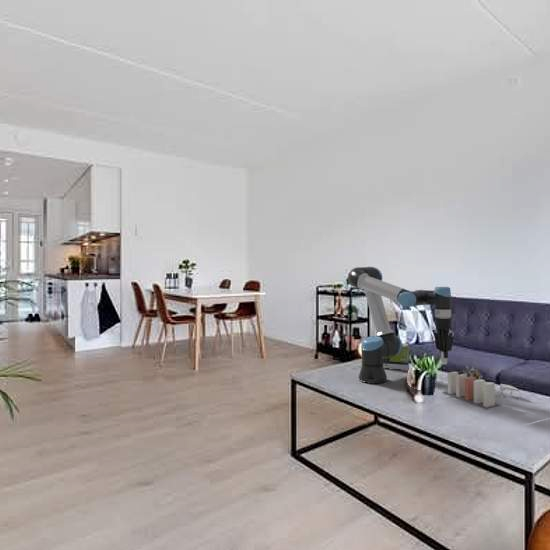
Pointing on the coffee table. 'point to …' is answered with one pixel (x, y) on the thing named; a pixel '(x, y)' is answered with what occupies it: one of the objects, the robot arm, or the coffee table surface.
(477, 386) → the domino
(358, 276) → the robot arm
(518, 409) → the coffee table surface
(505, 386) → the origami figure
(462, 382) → the domino
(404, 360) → the tea box
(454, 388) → the domino
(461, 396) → the mat
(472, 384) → the domino
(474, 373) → the passion flower
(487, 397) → the domino
